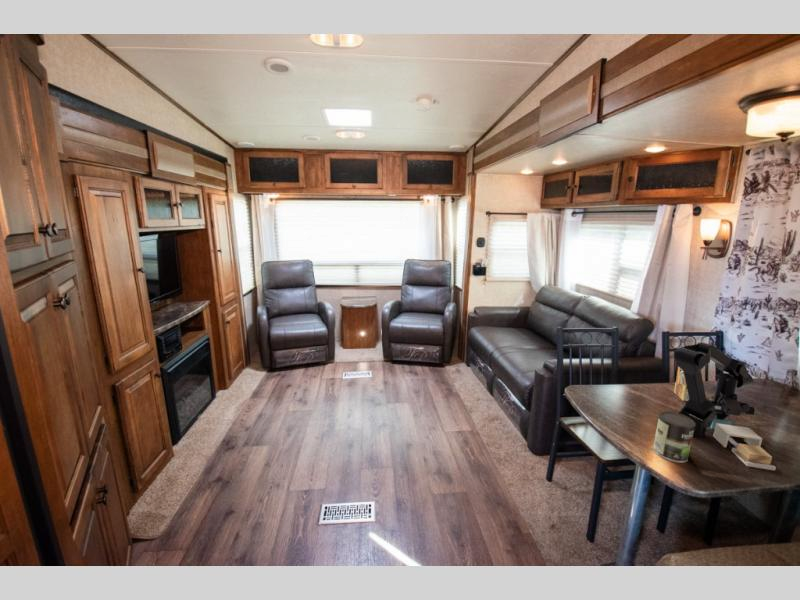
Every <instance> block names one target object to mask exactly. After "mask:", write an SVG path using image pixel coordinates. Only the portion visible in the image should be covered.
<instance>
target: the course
mask: <svg viewBox="0 0 800 600" xmlns="http://www.w3.org/2000/svg"><path fill="white" fill-rule="evenodd" d="M713 431H714V432H713V434H712V437H713V438H715V439H716V441H717V442H719V444H721V446H722V447H723V448H727V446H728V442H729V440H728V438H729V436H730V437H737V438H742V439H743V441H744V443H745V444H747V445H754V446H760V447H761V445H762V442H763V438H762V437H761V436H759V434H757V433H756V432H755V431H754V430H753V429H752V428H750V427H747V426H746V427H745V426H741V425H733V424H732V425H726V424H718V423H716V425H715V429H713Z"/></svg>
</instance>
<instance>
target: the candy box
mask: <svg viewBox="0 0 800 600" xmlns="http://www.w3.org/2000/svg"><path fill="white" fill-rule="evenodd" d="M675 379H676V380H675V384H674V389H673V392H674V393H675V395H676V396H677V397H678V398H679V399H681V400H682V401H683V402H687V401H688V400H689V395H688V390H687V385H686V381H685V376H684V371H683V370H682V369H681V368H680V367H679V366H678V365H677V372H676V378H675Z"/></svg>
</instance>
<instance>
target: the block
mask: <svg viewBox="0 0 800 600" xmlns="http://www.w3.org/2000/svg"><path fill="white" fill-rule="evenodd" d="M736 453H737V454H738V455H739V456H740V457H741V458H742V459H743V460H744V461H745V462H746V461H747V462H753V463H760V464H766V465H772V464H771V463H772V460H773V456H772V455H770V453H768V452H767V451H766V450H765V449H764V448H763V447H761V446H754V445H748V444H747V443H738V448H737V452H736Z"/></svg>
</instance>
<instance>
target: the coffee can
mask: <svg viewBox="0 0 800 600" xmlns="http://www.w3.org/2000/svg"><path fill="white" fill-rule="evenodd" d="M695 426H696V424H695V422H694V421H693V420H692V419H690V418H688V417H686V416H684V415H681V414H679V412H674V411H665V410H664V411H659V413H658V420H657V425H656V430H655V434H654V440H653V441H654V442H653V446H652V450H653V452H654V453H655V454H657V455H658V456H659V457H660V458H662V459H665V460H667V461H670V462H672V463H679V464H681V463H682V464H683V463H684V464H685V463H686V462H687V463H688V460H689V454H690V449H691V446H692V441H693V438H694V437H693V433H694V428H695Z"/></svg>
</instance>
